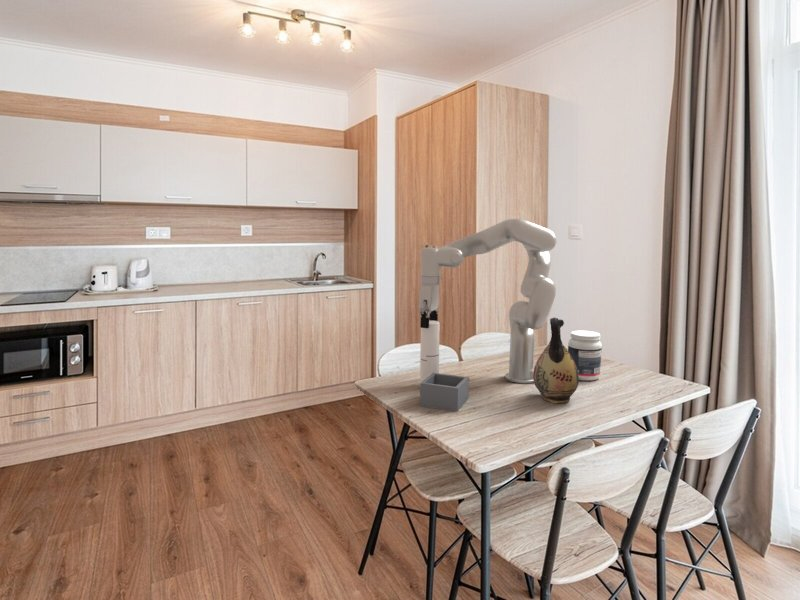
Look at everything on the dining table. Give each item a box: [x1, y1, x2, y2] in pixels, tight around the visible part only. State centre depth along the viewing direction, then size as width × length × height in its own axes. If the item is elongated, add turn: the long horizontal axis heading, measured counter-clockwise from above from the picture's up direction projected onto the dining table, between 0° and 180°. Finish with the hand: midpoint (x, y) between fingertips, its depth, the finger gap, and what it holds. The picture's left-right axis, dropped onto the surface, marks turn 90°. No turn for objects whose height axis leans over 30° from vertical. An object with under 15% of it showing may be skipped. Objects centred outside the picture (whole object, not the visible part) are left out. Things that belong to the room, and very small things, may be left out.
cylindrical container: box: [419, 320, 441, 384], centre depth 187 cm, size 7×7×25 cm
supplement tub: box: [567, 329, 603, 382], centre depth 199 cm, size 13×13×18 cm
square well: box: [419, 372, 470, 412], centre depth 170 cm, size 13×13×8 cm
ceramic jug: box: [533, 317, 580, 404], centre depth 172 cm, size 17×15×30 cm
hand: (429, 325), depth 185 cm, fingers open, 9 cm apart
